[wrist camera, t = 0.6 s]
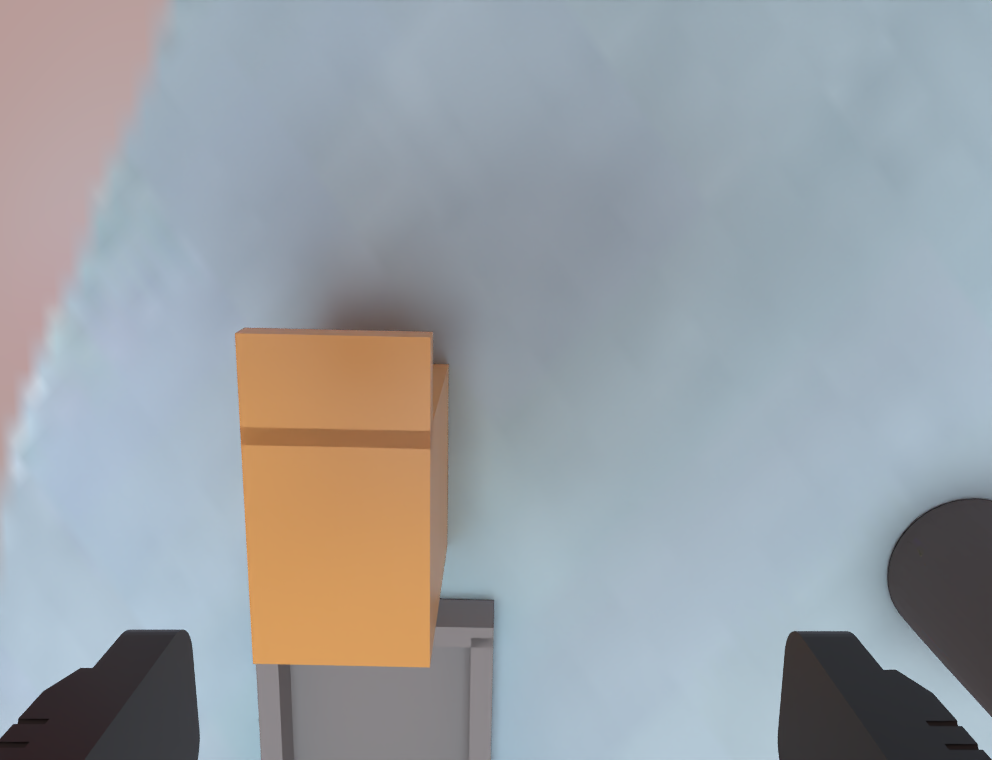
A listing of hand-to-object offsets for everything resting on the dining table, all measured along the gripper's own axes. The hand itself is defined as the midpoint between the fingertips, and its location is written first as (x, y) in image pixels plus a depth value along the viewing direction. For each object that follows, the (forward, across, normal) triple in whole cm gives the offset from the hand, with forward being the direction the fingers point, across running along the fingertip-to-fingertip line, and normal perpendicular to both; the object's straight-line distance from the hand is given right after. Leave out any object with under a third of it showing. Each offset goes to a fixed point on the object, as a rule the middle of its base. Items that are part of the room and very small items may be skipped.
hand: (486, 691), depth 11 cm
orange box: (+19, +4, +2) cm, 20 cm away
